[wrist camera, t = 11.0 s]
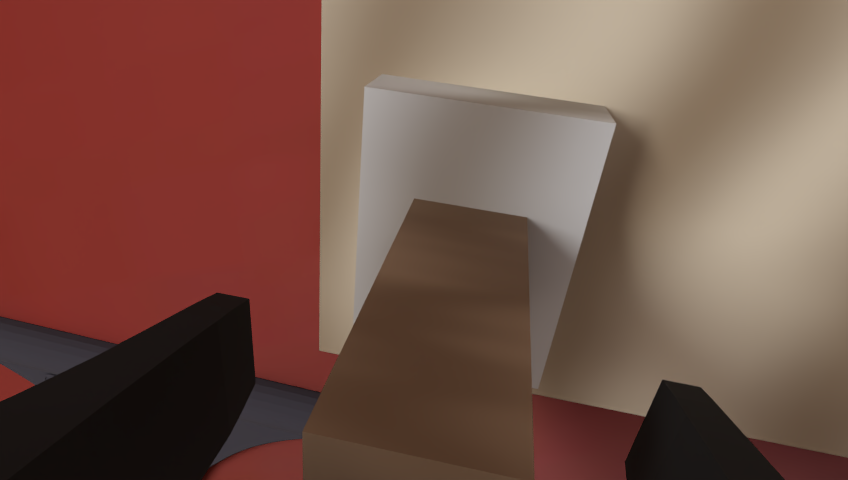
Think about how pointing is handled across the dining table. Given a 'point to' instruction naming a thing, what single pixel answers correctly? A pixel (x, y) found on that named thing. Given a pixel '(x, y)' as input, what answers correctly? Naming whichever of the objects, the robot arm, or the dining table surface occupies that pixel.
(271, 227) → the dining table surface
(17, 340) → the bracket
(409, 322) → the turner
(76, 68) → the dining table surface
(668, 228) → the board
